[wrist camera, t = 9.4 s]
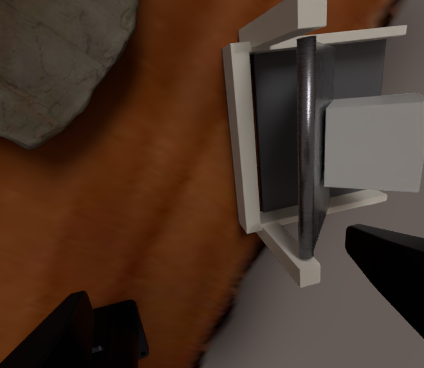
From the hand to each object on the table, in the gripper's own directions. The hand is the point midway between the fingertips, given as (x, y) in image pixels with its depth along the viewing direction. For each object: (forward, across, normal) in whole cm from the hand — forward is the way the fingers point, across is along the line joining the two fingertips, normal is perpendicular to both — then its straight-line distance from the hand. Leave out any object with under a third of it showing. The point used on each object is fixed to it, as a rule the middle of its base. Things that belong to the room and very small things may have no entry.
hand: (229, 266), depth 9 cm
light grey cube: (+9, -10, -1) cm, 14 cm away
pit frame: (+13, -11, -1) cm, 17 cm away
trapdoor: (+9, -8, -1) cm, 12 cm away
